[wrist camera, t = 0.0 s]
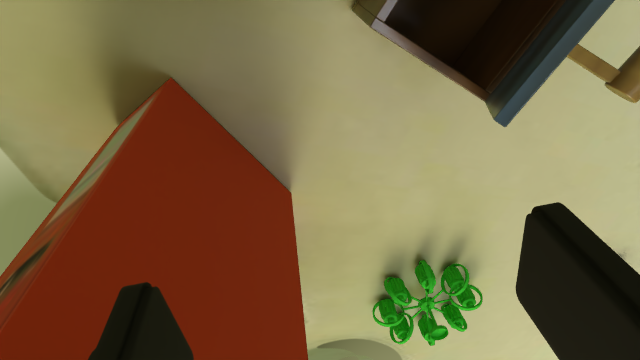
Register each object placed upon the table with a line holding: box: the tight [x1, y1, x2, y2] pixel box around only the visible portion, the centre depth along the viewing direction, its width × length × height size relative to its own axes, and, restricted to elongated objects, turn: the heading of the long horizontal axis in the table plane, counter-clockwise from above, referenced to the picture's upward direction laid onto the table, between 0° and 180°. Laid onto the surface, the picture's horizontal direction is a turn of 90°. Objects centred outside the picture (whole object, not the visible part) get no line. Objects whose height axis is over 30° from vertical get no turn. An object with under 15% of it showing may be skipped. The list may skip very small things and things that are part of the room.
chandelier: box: [373, 260, 482, 346], centre depth 54 cm, size 15×15×7 cm
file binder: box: [0, 78, 308, 360], centre depth 29 cm, size 8×17×32 cm, turn 38°
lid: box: [485, 0, 640, 127], centre depth 25 cm, size 13×14×5 cm
